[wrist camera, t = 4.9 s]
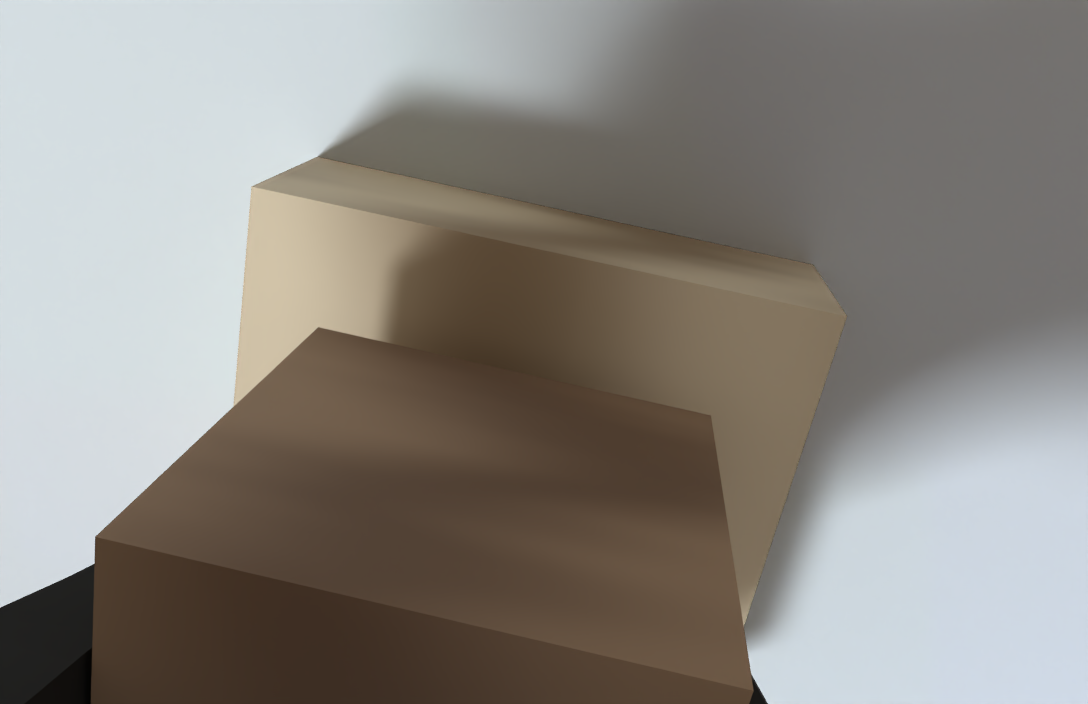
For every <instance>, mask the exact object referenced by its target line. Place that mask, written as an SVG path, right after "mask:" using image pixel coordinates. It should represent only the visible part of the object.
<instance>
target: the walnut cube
mask: <svg viewBox="0 0 1088 704" xmlns="http://www.w3.org/2000/svg"><path fill="white" fill-rule="evenodd" d="M753 691H754V690H753V684H752V677H751V671H750V664H749V658H748V651H747V645H746V639H745V632H744V626H743V619H742V613H741V606H740V600H739V593H738V587H737V581H736V574H735V568H734V561H733V555H732V548H731V542H730V535H729V529H728V523H727V516H726V510H725V503H724V497H723V490H722V484H721V477H720V471H719V465H718V458H717V452H716V445H715V439H714V432H713V426H712V419H711V415H707V414H702V413H698V412H694V411H689V410H685V409H680V408H676V407H671V406H667V405H662V404H658V403H653V402H649V401H645V400H640V399H636V398H631V397H627V396H622V395H618V394H613V393H609V392H605V391H600V390H596V389H591V388H587V387H582V386H578V385H573V384H569V383H565V382H560V381H556V380H551V379H547V378H542V377H538V376H533V375H529V374H524V373H520V372H516V371H511V370H507V369H502V368H498V367H493V366H489V365H484V364H480V363H476V362H471V361H467V360H462V359H458V358H453V357H449V356H444V355H440V354H436V353H431V352H427V351H422V350H418V349H413V348H409V347H404V346H400V345H395V344H391V343H387V342H382V341H378V340H373V339H369V338H364V337H360V336H355V335H351V334H347V333H342V332H338V331H333V330H329V329H324V328H320V327H318V328H317V329H316V330H315V331H314V332H313V333H311V334H310V335H309V336H308V337H307V338H306V339H305V340H304V341H303V342H302V343H301V344H300V345H299V346H298V347H297V348H296V349H294V350H293V351H292V352H291V353H290V354H289V355H288V356H287V357H286V358H285V359H284V360H283V361H282V362H281V363H280V364H279V365H277V366H276V367H275V368H274V369H273V370H272V371H271V372H270V373H269V374H268V375H267V376H266V377H265V378H264V379H263V380H262V381H260V382H259V383H258V384H257V385H256V386H255V387H254V388H253V389H252V390H251V391H250V392H249V393H248V394H247V395H246V396H245V397H243V398H242V399H241V400H240V401H239V402H238V403H237V404H236V405H235V406H234V407H233V408H232V409H231V410H230V411H229V412H228V413H226V414H225V415H224V416H223V417H222V418H221V419H220V420H219V421H218V422H217V423H216V424H215V425H214V426H213V427H212V428H211V429H209V430H208V431H207V432H206V433H205V434H204V435H203V436H202V437H201V438H200V439H199V440H198V441H197V442H196V443H195V444H194V445H192V446H191V447H190V448H189V449H188V450H187V451H186V452H185V453H184V454H183V455H182V456H181V457H180V458H179V459H178V460H177V461H175V462H174V463H173V464H172V465H171V466H170V467H169V468H168V469H167V470H166V471H165V472H164V473H163V474H162V475H161V476H160V477H158V478H157V479H156V480H155V481H154V482H153V483H152V484H151V485H150V486H149V487H148V488H147V489H146V490H145V491H144V492H143V493H141V494H140V495H139V496H138V497H137V498H136V499H135V500H134V501H133V502H132V503H131V504H130V505H129V506H128V507H127V508H126V509H124V510H123V511H122V512H121V513H120V514H119V515H118V516H117V517H116V518H115V519H114V520H113V521H112V522H111V523H110V524H109V525H107V526H106V527H105V528H104V529H103V530H102V531H101V532H100V533H99V534H98V535H97V536H96V537H95V568H94V604H93V640H92V676H91V704H749V703H750V700H751V697H752V694H753Z"/></svg>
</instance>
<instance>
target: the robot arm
mask: <svg viewBox="0 0 1088 704" xmlns="http://www.w3.org/2000/svg"><path fill="white" fill-rule="evenodd" d="M94 568H95V564H93V565H91V566H89V567H87V568H85V569H83V570H81V571H79V572H77V573H75V574H73V575H71V576H69V577H67V578H65V579H63V580H61V581H58V582H56V583H54V584H52V585H50V586H47V587H45V588H43V589H41V590H38V591H36V592H34V593H32V594H30V595H27V596H25V597H23V598H21V599H19V600H16V601H14V602H12V603H10V604H7V605H5V606H3V607H1V608H0V704H91V676H92V640H93V604H94ZM751 677H752V684H753V690H754V691H753V694H752V697H751V700H750V703H749V704H768V703H767V702H766V700H765V698H764V696H763V694H762V693H761V691H760V689H759V687H758V685H757V684H756V682H755V680H754V678H753V676H752V675H751Z"/></svg>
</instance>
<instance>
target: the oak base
mask: <svg viewBox="0 0 1088 704" xmlns="http://www.w3.org/2000/svg"><path fill="white" fill-rule="evenodd" d="M846 318H847V315H846V314H845V312H844V311H843V309H842V308H841V306H840V305H839V303H838V302H837V300H836V299H835V297H834V296H833V294H832V293H831V291H830V290H829V288H828V287H827V285H826V284H825V282H824V281H823V279H822V278H821V276H820V275H819V273H818V272H817V270H816V269H815V267H814V265H811V264H807V263H802V262H798V261H793V260H788V259H784V258H779V257H775V256H770V255H765V254H761V253H756V252H752V251H747V250H743V249H738V248H733V247H729V246H724V245H720V244H715V243H710V242H706V241H701V240H697V239H692V238H687V237H683V236H678V235H674V234H669V233H665V232H660V231H655V230H651V229H646V228H642V227H637V226H632V225H628V224H623V223H619V222H614V221H610V220H605V219H600V218H596V217H591V216H587V215H582V214H577V213H573V212H568V211H564V210H559V209H555V208H550V207H545V206H541V205H536V204H532V203H527V202H522V201H518V200H513V199H509V198H504V197H500V196H495V195H490V194H486V193H481V192H477V191H472V190H467V189H463V188H458V187H454V186H449V185H445V184H440V183H435V182H431V181H426V180H422V179H417V178H412V177H408V176H403V175H399V174H394V173H390V172H385V171H380V170H376V169H371V168H367V167H362V166H357V165H353V164H348V163H344V162H339V161H335V160H330V159H325V158H321V157H316V158H314V159H311V160H309V161H307V162H305V163H303V164H300V165H298V166H296V167H294V168H291V169H289V170H287V171H285V172H283V173H280V174H278V175H276V176H274V177H272V178H269V179H267V180H265V181H263V182H261V183H258V184H256V185H254V186H252V187H251V199H250V212H249V224H248V236H247V248H246V260H245V273H244V285H243V297H242V309H241V322H240V334H239V346H238V358H237V371H236V383H235V395H234V406H235V405H236V404H237V403H238V402H239V401H240V400H241V399H242V398H243V397H245V396H246V395H247V394H248V393H249V392H250V391H251V390H252V389H253V388H254V387H255V386H256V385H257V384H258V383H259V382H260V381H262V380H263V379H264V378H265V377H266V376H267V375H268V374H269V373H270V372H271V371H272V370H273V369H274V368H275V367H276V366H277V365H279V364H280V363H281V362H282V361H283V360H284V359H285V358H286V357H287V356H288V355H289V354H290V353H291V352H292V351H293V350H294V349H296V348H297V347H298V346H299V345H300V344H301V343H302V342H303V341H304V340H305V339H306V338H307V337H308V336H309V335H310V334H311V333H313V332H314V331H315V330H316V329H317V328H318V327H320V328H324V329H329V330H333V331H338V332H342V333H347V334H351V335H355V336H360V337H364V338H369V339H373V340H378V341H382V342H387V343H391V344H395V345H400V346H404V347H409V348H413V349H418V350H422V351H427V352H431V353H436V354H440V355H444V356H449V357H453V358H458V359H462V360H467V361H471V362H476V363H480V364H484V365H489V366H493V367H498V368H502V369H507V370H511V371H516V372H520V373H524V374H529V375H533V376H538V377H542V378H547V379H551V380H556V381H560V382H565V383H569V384H573V385H578V386H582V387H587V388H591V389H596V390H600V391H605V392H609V393H613V394H618V395H622V396H627V397H631V398H636V399H640V400H645V401H649V402H653V403H658V404H662V405H667V406H671V407H676V408H680V409H685V410H689V411H694V412H698V413H702V414H707V415H711V419H712V426H713V432H714V439H715V445H716V452H717V458H718V465H719V471H720V477H721V484H722V490H723V497H724V503H725V510H726V516H727V523H728V529H729V535H730V542H731V548H732V555H733V561H734V568H735V574H736V581H737V587H738V593H739V600H740V606H741V613H742V619H743V626H744V624H745V621H746V618H747V615H748V612H749V609H750V606H751V603H752V600H753V597H754V594H755V591H756V588H757V585H758V582H759V579H760V576H761V573H762V570H763V567H764V564H765V561H766V558H767V555H768V552H769V549H770V546H771V543H772V540H773V537H774V534H775V531H776V528H777V525H778V522H779V519H780V516H781V513H782V510H783V507H784V504H785V501H786V498H787V495H788V492H789V489H790V486H791V483H792V480H793V477H794V474H795V471H796V468H797V465H798V462H799V459H800V456H801V453H802V450H803V447H804V444H805V441H806V438H807V435H808V432H809V429H810V426H811V423H812V420H813V417H814V414H815V411H816V408H817V405H818V402H819V399H820V396H821V393H822V390H823V387H824V384H825V381H826V378H827V375H828V372H829V369H830V366H831V363H832V360H833V357H834V354H835V351H836V348H837V345H838V342H839V339H840V336H841V333H842V330H843V327H844V324H845V321H846Z"/></svg>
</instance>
